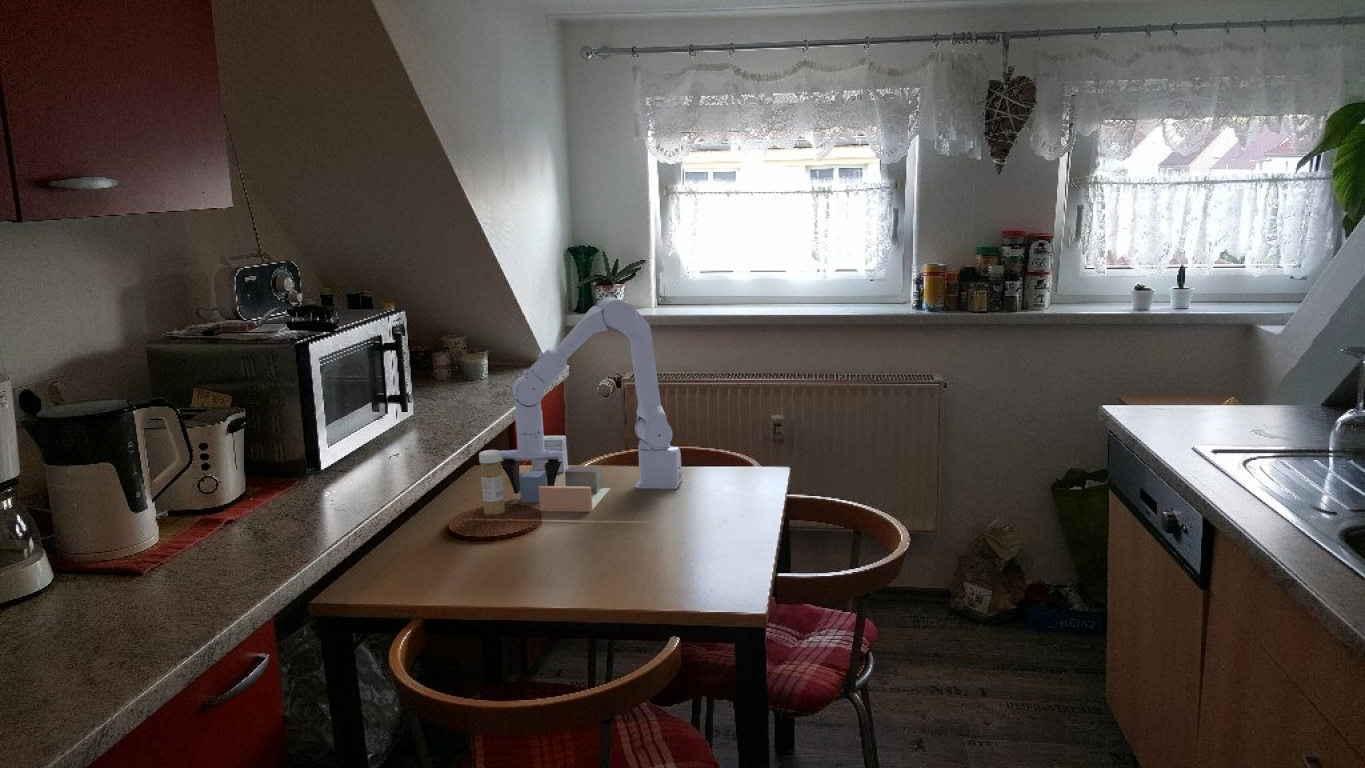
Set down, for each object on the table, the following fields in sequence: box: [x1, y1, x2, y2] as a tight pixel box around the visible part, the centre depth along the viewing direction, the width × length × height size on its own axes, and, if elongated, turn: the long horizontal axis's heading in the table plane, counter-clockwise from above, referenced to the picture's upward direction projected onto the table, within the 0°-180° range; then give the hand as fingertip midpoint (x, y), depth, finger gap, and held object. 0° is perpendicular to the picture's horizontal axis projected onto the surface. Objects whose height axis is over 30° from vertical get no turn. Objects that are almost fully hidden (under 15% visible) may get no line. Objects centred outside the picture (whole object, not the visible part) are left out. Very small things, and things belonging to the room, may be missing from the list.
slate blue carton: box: [519, 470, 547, 503], centre depth 213 cm, size 4×5×6 cm
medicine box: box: [531, 435, 569, 474], centre depth 236 cm, size 8×4×9 cm, turn 84°
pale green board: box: [539, 485, 611, 513], centre depth 211 cm, size 11×17×5 cm, turn 170°
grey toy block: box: [564, 466, 602, 494], centre depth 217 cm, size 7×4×5 cm, turn 80°
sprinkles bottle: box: [478, 449, 506, 515], centre depth 203 cm, size 5×5×13 cm
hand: (534, 492), depth 213 cm, fingers open, 7 cm apart
